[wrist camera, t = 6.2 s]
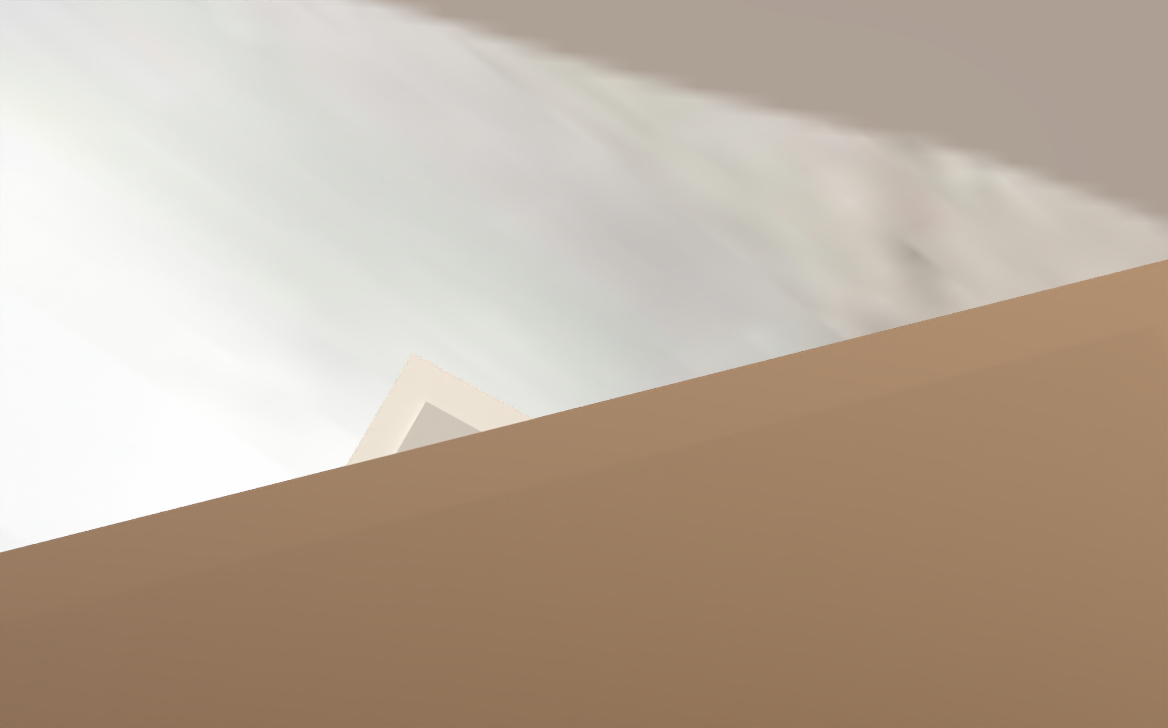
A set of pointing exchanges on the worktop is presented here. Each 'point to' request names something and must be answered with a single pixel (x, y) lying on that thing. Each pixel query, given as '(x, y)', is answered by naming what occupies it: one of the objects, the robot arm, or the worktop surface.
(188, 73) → the worktop surface
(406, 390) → the plinth
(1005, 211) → the worktop surface
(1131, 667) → the column
